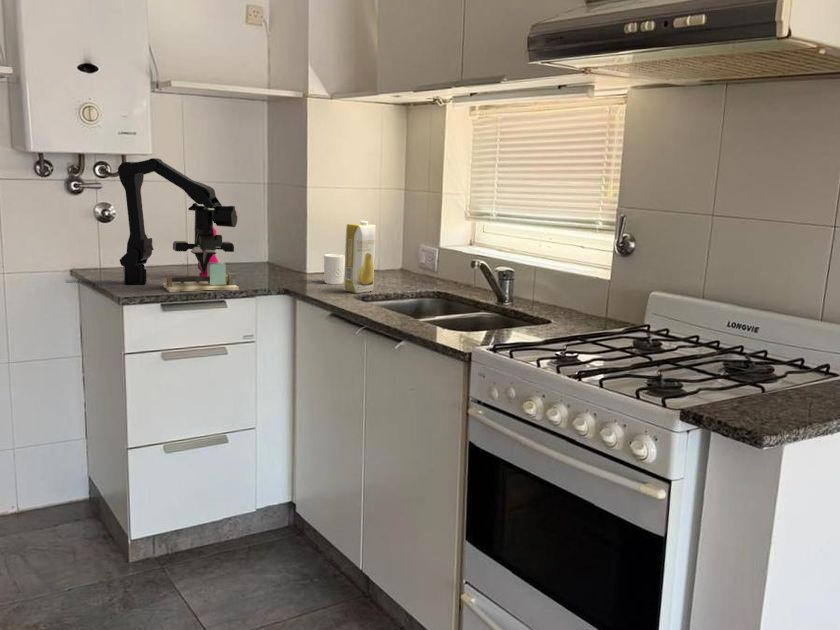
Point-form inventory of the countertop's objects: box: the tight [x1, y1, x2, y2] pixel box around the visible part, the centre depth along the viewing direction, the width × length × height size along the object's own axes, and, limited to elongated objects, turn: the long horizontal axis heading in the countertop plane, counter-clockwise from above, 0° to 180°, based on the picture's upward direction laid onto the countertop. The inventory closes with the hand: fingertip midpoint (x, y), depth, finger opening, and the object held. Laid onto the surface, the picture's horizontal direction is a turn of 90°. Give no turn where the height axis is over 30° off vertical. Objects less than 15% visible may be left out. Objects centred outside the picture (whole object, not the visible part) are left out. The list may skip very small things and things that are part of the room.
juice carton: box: [343, 220, 376, 294], centre depth 268 cm, size 9×8×24 cm
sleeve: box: [207, 262, 227, 285], centre depth 262 cm, size 5×4×7 cm
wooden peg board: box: [162, 272, 240, 293], centre depth 260 cm, size 22×12×5 cm, turn 117°
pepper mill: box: [197, 227, 219, 277], centre depth 279 cm, size 7×7×20 cm
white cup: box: [323, 253, 345, 285], centre depth 284 cm, size 8×8×10 cm
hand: (203, 272), depth 260 cm, fingers closed
